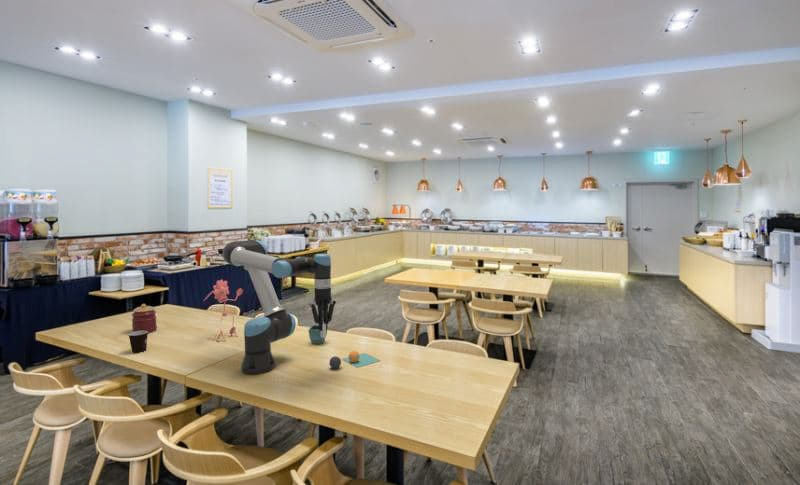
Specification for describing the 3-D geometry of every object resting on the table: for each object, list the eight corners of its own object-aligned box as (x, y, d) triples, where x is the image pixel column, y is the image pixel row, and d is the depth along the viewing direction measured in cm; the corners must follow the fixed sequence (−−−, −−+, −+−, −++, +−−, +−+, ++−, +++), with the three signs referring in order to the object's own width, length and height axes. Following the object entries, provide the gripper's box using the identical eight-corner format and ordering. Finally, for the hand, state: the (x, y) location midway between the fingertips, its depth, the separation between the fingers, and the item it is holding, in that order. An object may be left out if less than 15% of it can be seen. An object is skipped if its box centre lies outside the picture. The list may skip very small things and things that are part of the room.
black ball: (342, 357, 189) (343, 367, 191) (337, 352, 194) (338, 362, 195) (331, 361, 186) (333, 372, 188) (326, 357, 191) (328, 367, 192)
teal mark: (357, 367, 191) (357, 367, 191) (342, 359, 202) (342, 359, 202) (380, 360, 200) (380, 360, 200) (364, 353, 211) (364, 352, 211)
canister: (134, 330, 253) (133, 302, 252) (158, 327, 258) (157, 300, 257) (130, 335, 241) (129, 307, 240) (155, 333, 247) (154, 305, 245)
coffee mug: (139, 354, 209) (138, 335, 208) (125, 353, 211) (124, 334, 210) (157, 347, 221) (156, 329, 220) (143, 346, 222) (142, 328, 222)
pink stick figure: (248, 333, 246) (245, 276, 244) (215, 346, 222) (211, 284, 220) (229, 331, 252) (226, 276, 250) (194, 343, 228) (191, 282, 226)
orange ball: (355, 351, 195) (363, 354, 199) (349, 348, 200) (357, 351, 203) (350, 362, 194) (358, 365, 197) (344, 359, 198) (352, 361, 201)
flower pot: (328, 340, 232) (327, 325, 231) (323, 345, 223) (323, 329, 223) (313, 340, 233) (313, 325, 232) (308, 345, 224) (308, 329, 224)
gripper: (313, 290, 178) (314, 342, 180) (339, 286, 186) (339, 336, 188) (306, 287, 184) (306, 337, 186) (331, 284, 192) (331, 332, 194)
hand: (323, 337), depth 187 cm, fingers closed
